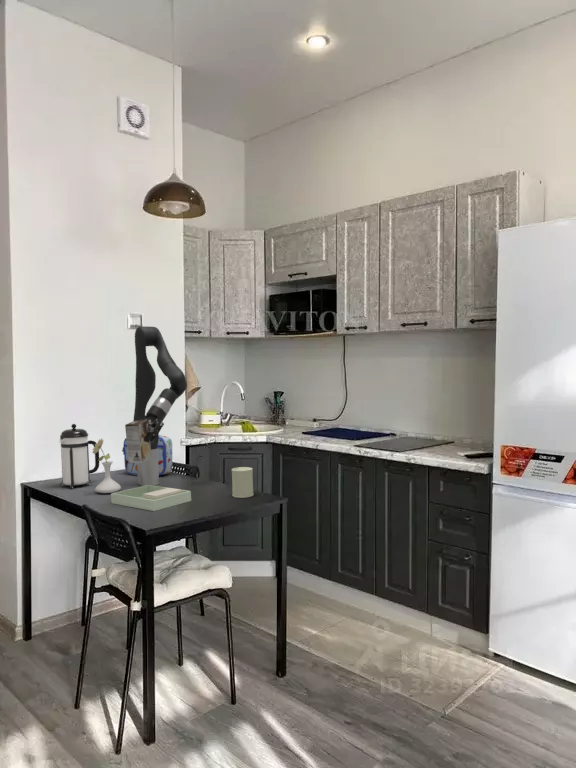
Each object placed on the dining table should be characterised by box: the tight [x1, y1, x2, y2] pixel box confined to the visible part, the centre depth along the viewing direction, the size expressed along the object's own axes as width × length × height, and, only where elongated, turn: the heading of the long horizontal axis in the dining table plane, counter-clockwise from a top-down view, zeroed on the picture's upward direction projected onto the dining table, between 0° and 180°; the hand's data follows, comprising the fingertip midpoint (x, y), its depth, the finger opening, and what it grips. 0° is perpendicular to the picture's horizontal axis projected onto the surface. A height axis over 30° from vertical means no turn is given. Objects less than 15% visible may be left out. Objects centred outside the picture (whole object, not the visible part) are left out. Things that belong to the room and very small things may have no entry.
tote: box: [110, 485, 192, 512], centre depth 257 cm, size 26×20×5 cm
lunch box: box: [121, 434, 173, 476], centre depth 324 cm, size 28×10×22 cm, turn 68°
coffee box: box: [124, 420, 152, 463], centre depth 259 cm, size 9×6×16 cm
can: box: [231, 466, 254, 499], centre depth 269 cm, size 9×9×12 cm
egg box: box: [142, 487, 182, 500], centre depth 253 cm, size 8×14×5 cm, turn 143°
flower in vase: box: [92, 437, 122, 494], centre depth 282 cm, size 13×11×25 cm
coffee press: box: [58, 423, 100, 489], centre depth 300 cm, size 17×16×30 cm
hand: (139, 440), depth 259 cm, fingers closed on coffee box, 8 cm apart
